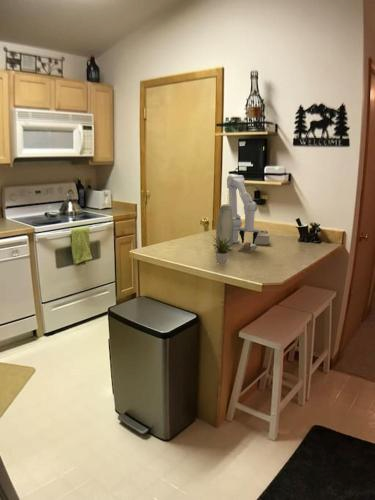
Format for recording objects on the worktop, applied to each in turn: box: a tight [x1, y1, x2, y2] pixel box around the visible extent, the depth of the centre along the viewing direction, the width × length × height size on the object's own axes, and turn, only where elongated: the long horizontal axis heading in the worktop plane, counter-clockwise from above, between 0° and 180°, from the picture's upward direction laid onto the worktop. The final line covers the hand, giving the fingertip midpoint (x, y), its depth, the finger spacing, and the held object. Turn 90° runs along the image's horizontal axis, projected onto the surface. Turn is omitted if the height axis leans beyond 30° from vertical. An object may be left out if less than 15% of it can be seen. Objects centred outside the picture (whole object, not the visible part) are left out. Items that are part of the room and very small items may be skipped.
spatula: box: [243, 241, 255, 251], centre depth 253 cm, size 14×5×4 cm, turn 159°
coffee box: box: [254, 230, 270, 246], centre depth 270 cm, size 9×6×16 cm
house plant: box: [210, 235, 234, 265], centre depth 218 cm, size 14×14×16 cm
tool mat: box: [237, 244, 258, 254], centre depth 253 cm, size 8×19×1 cm, turn 159°
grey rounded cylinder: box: [215, 204, 234, 249], centre depth 246 cm, size 10×10×28 cm
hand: (248, 243), depth 252 cm, fingers open, 6 cm apart
